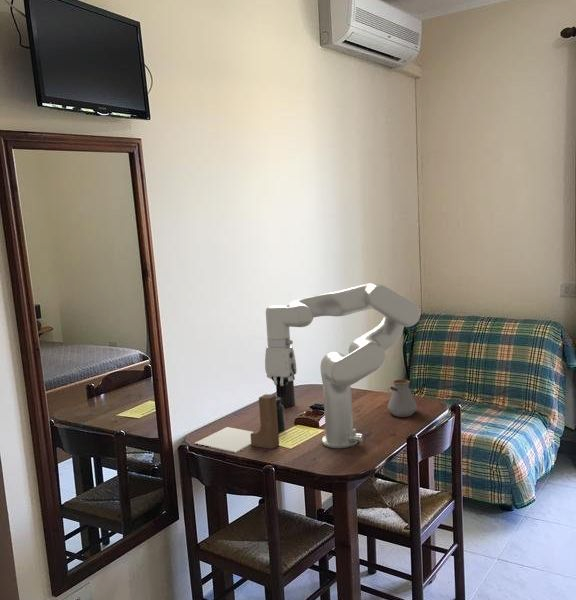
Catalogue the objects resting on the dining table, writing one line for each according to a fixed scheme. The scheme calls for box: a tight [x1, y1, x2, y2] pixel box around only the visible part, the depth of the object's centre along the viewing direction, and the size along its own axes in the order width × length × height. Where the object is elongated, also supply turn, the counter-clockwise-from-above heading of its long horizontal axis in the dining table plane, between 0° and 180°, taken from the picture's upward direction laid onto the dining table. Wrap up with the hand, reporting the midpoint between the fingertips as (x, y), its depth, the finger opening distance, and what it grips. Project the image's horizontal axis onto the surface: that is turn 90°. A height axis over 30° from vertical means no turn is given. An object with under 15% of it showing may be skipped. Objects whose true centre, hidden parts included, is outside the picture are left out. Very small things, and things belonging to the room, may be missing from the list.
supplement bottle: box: [276, 396, 286, 433], centre depth 228 cm, size 7×7×12 cm
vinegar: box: [280, 380, 296, 408], centre depth 256 cm, size 7×7×20 cm
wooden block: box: [250, 393, 280, 450], centre depth 212 cm, size 9×4×18 cm, turn 61°
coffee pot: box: [387, 378, 418, 418], centre depth 232 cm, size 21×12×15 cm, turn 155°
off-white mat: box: [194, 426, 254, 454], centre depth 220 cm, size 19×18×1 cm
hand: (281, 396), depth 205 cm, fingers closed
